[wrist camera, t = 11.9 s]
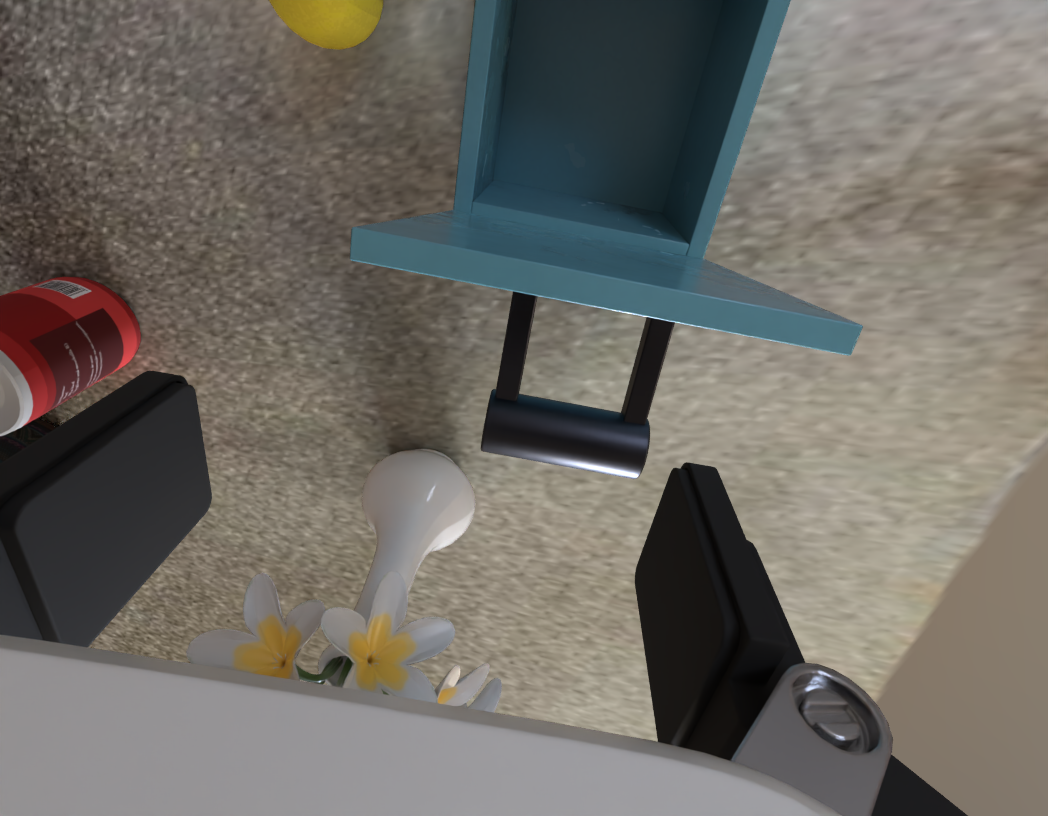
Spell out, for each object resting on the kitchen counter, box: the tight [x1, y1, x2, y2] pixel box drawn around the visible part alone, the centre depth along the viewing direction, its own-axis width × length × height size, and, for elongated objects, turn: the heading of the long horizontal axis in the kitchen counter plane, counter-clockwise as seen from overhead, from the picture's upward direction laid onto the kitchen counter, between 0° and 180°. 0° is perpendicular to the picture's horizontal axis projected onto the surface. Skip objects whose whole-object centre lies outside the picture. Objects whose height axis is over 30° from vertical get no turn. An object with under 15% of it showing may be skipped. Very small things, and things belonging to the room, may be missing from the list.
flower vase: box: [186, 449, 502, 713], centre depth 37 cm, size 13×18×25 cm
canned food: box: [0, 277, 141, 436], centre depth 38 cm, size 8×8×11 cm
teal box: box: [453, 0, 791, 259], centre depth 28 cm, size 14×13×10 cm
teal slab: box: [350, 210, 863, 479], centre depth 21 cm, size 15×13×6 cm
